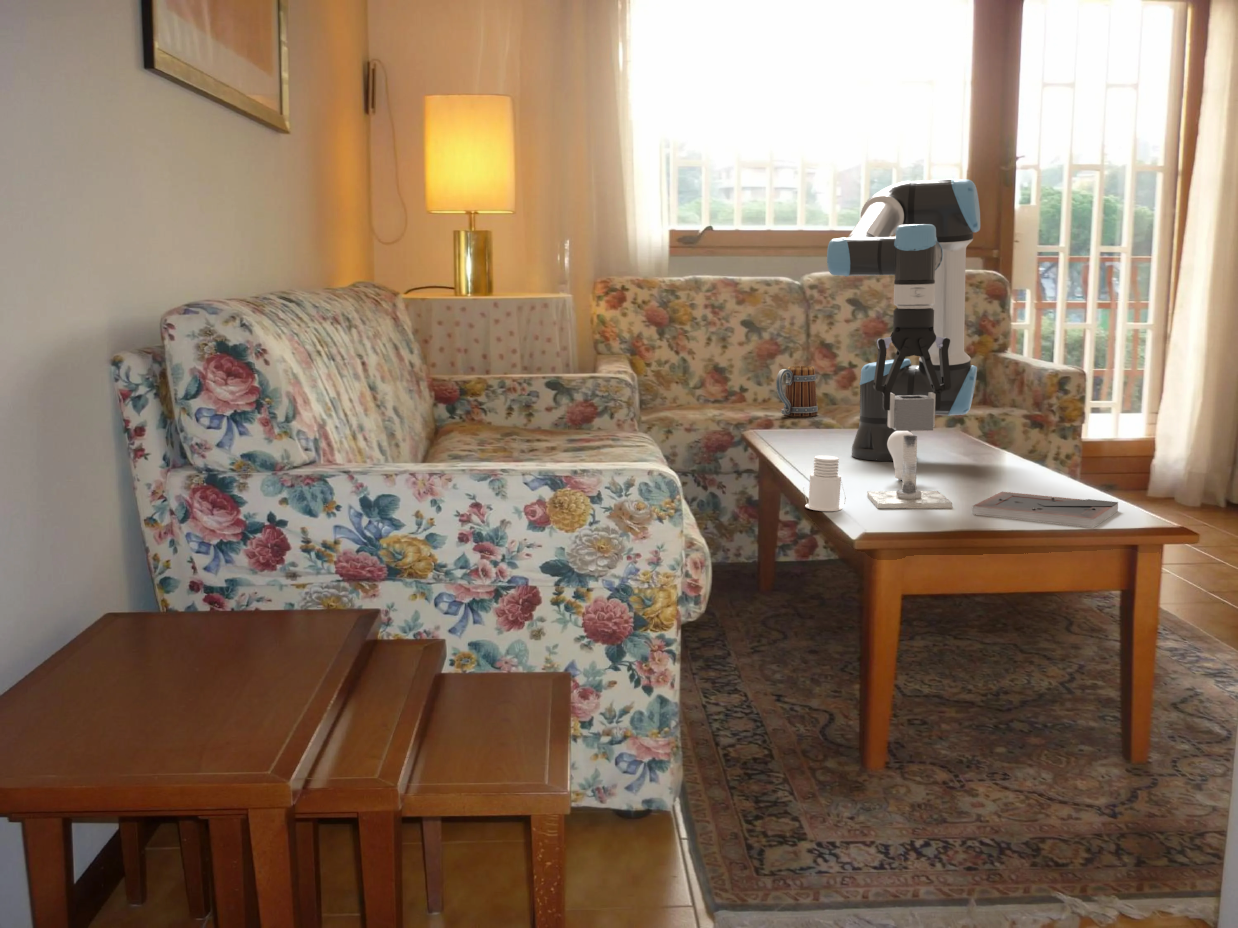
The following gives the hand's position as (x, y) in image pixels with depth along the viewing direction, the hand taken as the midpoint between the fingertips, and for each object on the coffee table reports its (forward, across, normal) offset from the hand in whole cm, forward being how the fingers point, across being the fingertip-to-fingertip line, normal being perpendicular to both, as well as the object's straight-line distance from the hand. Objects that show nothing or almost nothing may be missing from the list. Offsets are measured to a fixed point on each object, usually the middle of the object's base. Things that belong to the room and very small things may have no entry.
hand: (910, 426), depth 225 cm
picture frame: (+16, +23, -11) cm, 30 cm away
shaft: (+15, 0, 0) cm, 15 cm away
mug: (+15, -8, +134) cm, 135 cm away
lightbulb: (+15, +3, +23) cm, 28 cm away
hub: (0, 0, 0) cm, 0 cm away
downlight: (+15, -17, -5) cm, 23 cm away
